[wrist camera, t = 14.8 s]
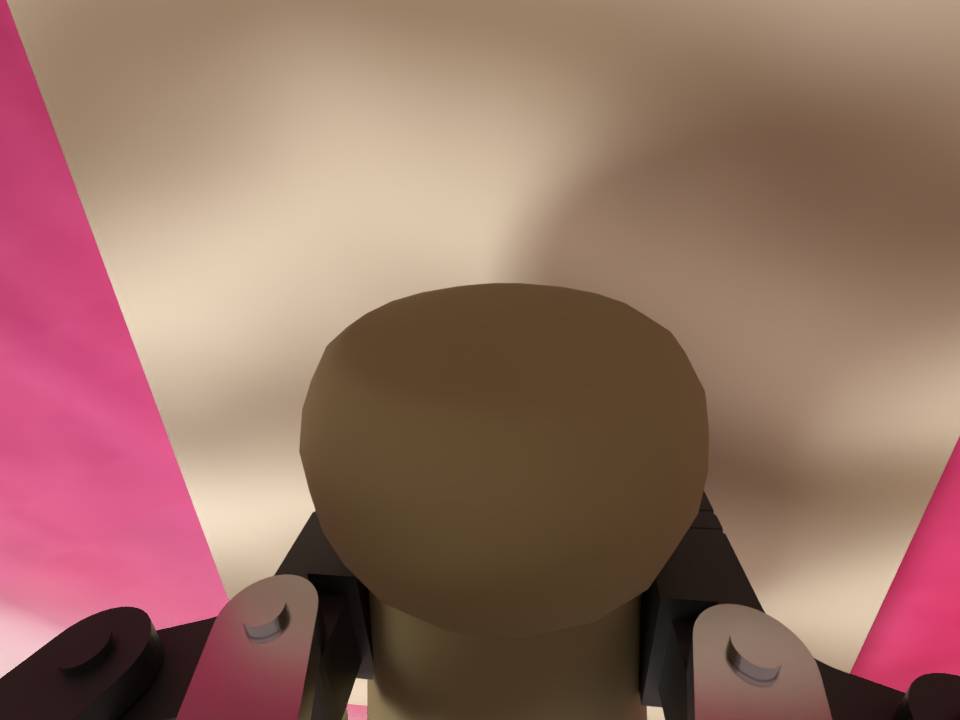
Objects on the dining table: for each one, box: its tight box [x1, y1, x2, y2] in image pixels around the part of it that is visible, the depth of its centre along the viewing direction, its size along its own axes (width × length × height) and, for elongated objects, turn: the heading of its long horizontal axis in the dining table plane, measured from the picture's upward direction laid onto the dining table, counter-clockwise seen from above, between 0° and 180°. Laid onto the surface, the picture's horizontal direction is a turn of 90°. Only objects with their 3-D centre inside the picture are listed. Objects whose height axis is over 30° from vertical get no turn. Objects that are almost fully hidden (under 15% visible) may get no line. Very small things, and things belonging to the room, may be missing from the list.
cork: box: [299, 283, 709, 720], centre depth 8 cm, size 6×6×11 cm
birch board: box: [7, 0, 960, 720], centre depth 11 cm, size 22×18×1 cm
